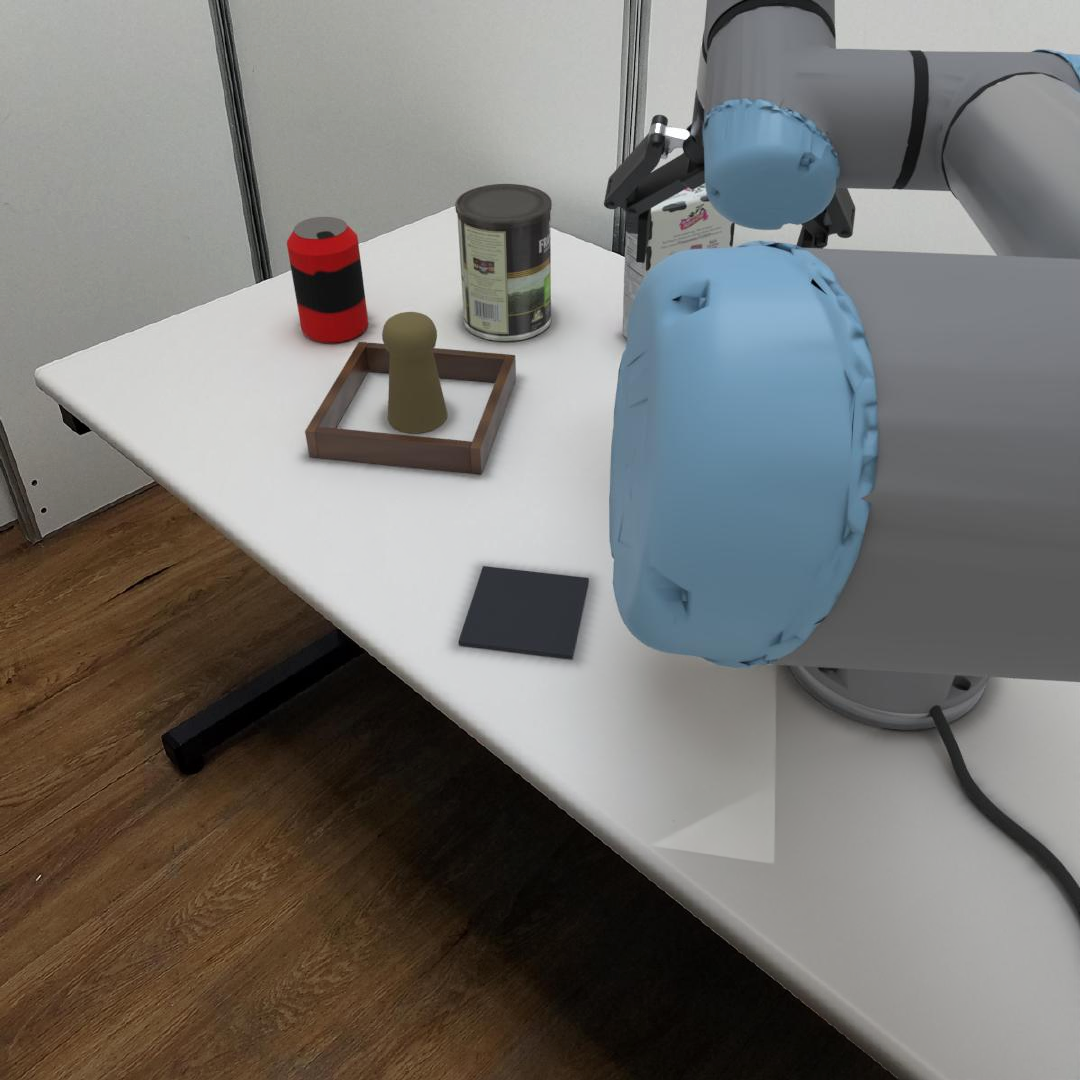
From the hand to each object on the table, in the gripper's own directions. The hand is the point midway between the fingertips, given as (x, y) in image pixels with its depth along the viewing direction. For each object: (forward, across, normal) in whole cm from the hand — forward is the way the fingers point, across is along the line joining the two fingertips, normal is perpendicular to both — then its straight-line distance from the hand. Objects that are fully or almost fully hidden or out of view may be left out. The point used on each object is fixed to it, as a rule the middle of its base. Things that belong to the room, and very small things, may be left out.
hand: (718, 259), depth 95 cm
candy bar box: (+25, +3, -6) cm, 26 cm away
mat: (0, +11, +34) cm, 36 cm away
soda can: (+24, +41, 0) cm, 48 cm away
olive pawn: (+15, +27, +13) cm, 34 cm away
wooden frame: (+15, +27, +13) cm, 34 cm away
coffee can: (+26, +22, -5) cm, 34 cm away
